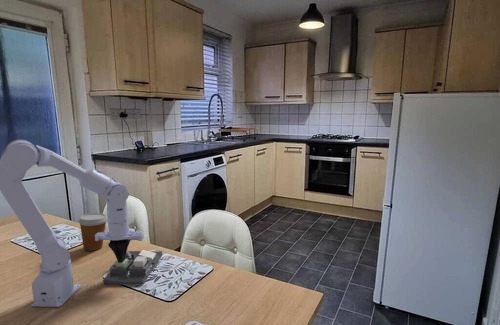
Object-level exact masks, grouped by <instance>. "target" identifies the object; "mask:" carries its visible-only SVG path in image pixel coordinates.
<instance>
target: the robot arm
mask: <svg viewBox="0 0 500 325" xmlns="http://www.w3.org/2000/svg"><path fill="white" fill-rule="evenodd" d="M0 155H1V156H0V192H1V194H2V195H3V197H4V199H5V200H6V201H7V203H8V205H9V206H10V208H11V209H12V211H13V212H14V214H15V215H16V217H17V218H18V220H19V222H20V223H21V225H22V226H23V228H24V229H25V230H26V232H27V233H28V235H29V236H30V238H31V239H32V241H33V242H34V245H35V248H36V249H37V251H38V253H39V254H40V259H41V263H40V265H39V272H38V274H37V276H36V277H35V278H34V280H32V283H31V290H32V295H33V296H32V297H33V303H32V304H31V305H30V306H31V307H45V308H46V307H49V308H50V307H52V308H53V307H54V308H55V307H56V308H57V307H58V308H59V307H62V306H63V305H64V304H65V303H66V302H67V301H68V300H69V299H70V298H71V297H72V296H73V295H74V294H75V293H76V292H77V291H78V289H80V288H81V286H82V285H81V284H80V283H79V284H74V277H73V276H74V275H73V268H72V259H71V255H70V252H69V251H68V248H67V246H66V242H65V240H64V239H63V238H61V237H58V236H57V235H56V232H54V231H53V229H52V228H51V226H50V225H49V223H48V221H47V219H46V218H45V217H44V215H43V214H42V212H41V211H40V208H39V207H38V206H37V204H36V202H35V200H34V199H33V197H32V196H31V194H30V192H29V191H28V189H27V187H26V186H25V184H24V183H23V180H24V178H25V175H26V173H27V172H28V171H29V169H31V168H33V166H35V164H36V166H37V167H52V168H53V169H55V170H58V171H61V172H62V173H65V174H66V175H69V176H71V177H73V178H75V179H77V180H78V181H79V185H80V187H82V188H85V189H87V190H88V191H90V192H92V193H94V194H97V195H98V196H100V197H104V198H106V212H107V214H106V217H107V227H108V231H105V232H100V233H97V234H96V235H95V241H99V240H103V241H109V242H108V244H107V245H108V247H109V248H110V250H111V251H112V252H113V254H114V256H115V258H116V261H118V263H122V262H123V261H124V260H125V256H126V251H127V250H128V247H129V245H130V242H131V241H138V242H142V241H143V240H144V238H145V236H144V235H145V234H144V232H138V231H132V230H130V228H129V224H130V223H129V213H128V204H127V199H128V198H129V195H130V192H129V191H128V189H127V187H126V186H125V185H124V184H122V183H120V182H119V181H118V180H117V179H116V178H114V177H112V178H111V177H109V176H108V175H106V174H104V173H103V171H102V170H100V169H99V168H96V169H94V168H88V169H85V168H83V167H81V166H79V165H77V164H75V163H74V162H72V161H70V160H69V159H67V158H65V157H63V156H61V155H59V154H58V153H56V152H54V151H53V150H50V149H48V148H45V147H44V146H43V147H42V146H41V145H38V144H35V145H34V144H33V143H32V142H30V141H28V140H25V139H15V140H12V141H10V142H9V143H8V144H7V146H6V147H5V148H4V150H3V151H2V153H1V154H0Z"/></svg>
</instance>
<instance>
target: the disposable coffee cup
mask: <svg viewBox="0 0 500 325" xmlns="http://www.w3.org/2000/svg"><path fill="white" fill-rule="evenodd" d="M107 222H108V217H107V214H104V213H100V212H99V213H97V212H96V213H95V212H94V213H87V214H83V215H81V216H80V217H79V219H78V223H79V226H80V232H81V238H82V239H81V240H82V241H81V242H82V246H83V250H84V251H88V252H89V251H97V250H100V249H101V248H103V244H104V240H99V241H95V235H96V234H97V233H100V232H106V231H105V230H106V223H107Z"/></svg>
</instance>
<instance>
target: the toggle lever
mask: <svg viewBox="0 0 500 325" xmlns="http://www.w3.org/2000/svg"><path fill="white" fill-rule="evenodd" d="M129 251H130V250H128V249H127V251H126V256H125V257H132V255H131V254H130V253H129Z"/></svg>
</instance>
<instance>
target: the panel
mask: <svg viewBox="0 0 500 325" xmlns="http://www.w3.org/2000/svg"><path fill="white" fill-rule="evenodd" d="M128 251H129V253H130V254H131V255H132V257H125V259H128V262H129V263H128V265H127V266H126V267H115V262H114V263H113V264H112V265H111V266H110V267H109V273H107V275H106V276H105V277H104V278H103V285H120V286H121V285H123V284H140V285H141V286H143V285H144V284H145V283H146V281H147V280H148V278H149V277H150V275H151V274H152V272H153V271H154V269H155V268H156V266H157V264H158V263H159V261H160V260H161V258H162V257H163V251H162V250H161V251H158V250H157V251H156V250H155V251H154V250H150V252H154V253H156V256H155V257H154V259H153V260H147V263H146V264H145V266H144V267H134V262H133V261H134V260H135V259H136V257H137V256H138V255H139V254H140V252H141V251H142V250H128ZM152 270H153V271H152ZM150 273H151V274H150ZM148 276H149V277H148ZM142 284H143V285H142ZM123 286H124V285H123Z"/></svg>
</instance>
